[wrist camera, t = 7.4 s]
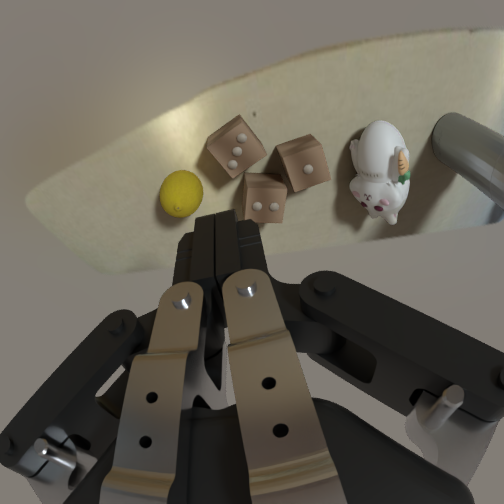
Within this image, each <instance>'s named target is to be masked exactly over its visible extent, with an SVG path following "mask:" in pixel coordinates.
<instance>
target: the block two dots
mask: <svg viewBox="0 0 504 504" xmlns="http://www.w3.org/2000/svg"><path fill="white" fill-rule="evenodd" d="M286 196H287V187H286V185H285V183H284V181H283V179H282V177H281V175H280V174H265V173H244V184H243V196H242V209H243V215H244V220H247V219H252V220H253V221H254V222H255V223H282V221H283V214H284V208H285V202H286Z"/></svg>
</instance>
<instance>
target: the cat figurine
mask: <svg viewBox="0 0 504 504" xmlns="http://www.w3.org/2000/svg"><path fill="white" fill-rule="evenodd" d="M349 148H350V150H351V156H352V161H353V165H354V167H355V170H356V171H357V173H358V174H356V175H358V176H356V177H355V178H354V179H352V181H351V182H350V185H349V187H350V190H351V192H352V193H353V195H354V197H355V198H356V199H357V200H358V201H359V202H360V203H361V205H362V206H363V207H365V208H366V209H367V210H368V212H369V215H370V217H371V218H376V217H378V216H381V217H383V218H384V219H385V220H386V221H387V222H388V223H389V224H391V225H394V224H396V222H397V216H398V211H399V210H400V209H401V208H402V207H403V205H404V203H405V201H406V199H407V196H408V192H409V185H410V181H409V178H410V171H408V169H409V164H408V162H409V151H408V149H406V146H405V142H404V140H403V138H402V136H401V134H400V132H399V131H398V130H397V129H396V128H395V127H394V126H393V125H392V124H390V123H388V122H386V121H382V120H378V121H374V122H372V123H370V124H369V125H368V126H367V127H366V128H365V130H364V131H363V133H362V135H361V138H360V141H359V140H358V139H354V140H353V141H351V145H350V147H349ZM407 171H408V172H407Z"/></svg>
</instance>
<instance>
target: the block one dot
mask: <svg viewBox="0 0 504 504" xmlns="http://www.w3.org/2000/svg"><path fill="white" fill-rule="evenodd" d="M276 148H277V150H278V153H279V156H280V159H281V161H282V164H283V167H284V170H285V173H286V175H287V178H288V180H289V182H290V184H291V186H292V188H293V190H294V192H297V191H300V190H303V189H306V188H308V187H311V186H314V185H317V184H320V183H323V182H325V181H328V180H331V177H330V173H329V169H328V166H327V162H326V158H325V155H324V151H323V148H322V145H321V144H320V143H319V142H318V141H317V140H316V139H315V138H314V137H313V136H312V135H311V134H309V135H306V136H303V137H300V138H297V139H294V140H291V141H288V142H285V143H282V144H279V145H277V146H276Z"/></svg>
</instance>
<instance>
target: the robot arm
mask: <svg viewBox="0 0 504 504" xmlns="http://www.w3.org/2000/svg"><path fill="white" fill-rule="evenodd" d="M432 146H433V151H434V153H435V155H436V157H437V158H438V159H439V160H440V161H441V162H443V163H444V164H446V165H447V166H448V167H450V168H451V169H453V170H454V171H455V172H457V173H458V174H459V175H461V176H462V177H463V178H465V179H466V180H467V181H469V182H470V183H471V184H473V185H474V186H475V187H477V188H478V189H479V190H480V191H482V192H483V193H484V194H485V195H487V196H488V197H489V198H490V199H491V200H493V201H494V202H495V203H496V204H497V205H499V206H500V207H501V208H502V209H503V210H504V136H503V135H501V134H499V133H497V132H495V131H493V130H492V129H490V128H488V127H486V126H484V125H482V124H480V123H478V122H476V121H474V120H472V119H470V118H467V117H465V116H463V115H461V114H458V113H448V114H446V115H444V116H443V117H442V118H441V119H440V120H439V121H438V123H437V124H436V126H435V129H434V132H433V137H432ZM227 327H228V332H229V338H230V344H229V345H228V347H227V345H226V342H225V336H224V335H225V334H224V328H227ZM227 348H228V357H229V364H230V370H231V376H232V382H233V388H234V393H235V399H236V404H234V405H231V406H229V407H228V403H227V400H226V365H227ZM296 352H302V353H307V355H308V356H309V357H310V358H311V359H312V360H314V361H315V362H317V363H319V364H320V365H322V366H323V367H325V368H327V369H328V370H330V371H331V372H333V373H335V374H336V375H337V376H339V377H341V378H342V379H344V380H345V381H347V382H349V383H350V384H352V385H354V386H355V387H357V388H358V389H360V390H362V391H364V392H365V393H367V394H368V395H370V396H372V397H373V398H375V399H377V400H378V401H380V402H382V403H384V404H385V405H387V406H389V407H391V408H392V409H394V410H396V411H397V412H399V413H401V414H403V415H404V416H406V417H407V418H406V422H405V429H406V433H407V436H408V437H409V439H410V440H411V441H412V442H413V443H414V444H416V445H417V446H418V447H419V448H420V449H421V451H422V453H423V456H424V459H423V458H422V457H420V456H418V455H417V454H415V453H414V452H412V451H410V450H409V449H407V448H405V447H404V446H402V445H401V444H399V443H397V442H396V441H394V440H393V439H391V438H390V437H388V436H386V435H385V434H383V433H382V432H380V431H379V430H377V429H376V428H374V427H373V426H371V425H370V424H368V423H367V422H365V421H364V420H362V419H360V418H359V417H358V416H356V415H355V414H354V413H352V412H351V411H349V410H348V409H346V408H344V407H342V406H340V405H338V404H336V403H333V402H331V401H328V400H324V399H320V398H312V397H311V395H310V392H309V389H308V386H307V383H306V380H305V377H304V374H303V371H302V368H301V365H300V362H299V359H298V356H297V353H296ZM120 365H122V366H123V367H124V368H125V371H124V372H123V373H122V374H121V375H120V377H119V378H118V379H117V380H116V381H115V382H114V383H113V384H112V385H111V387H110V388H109V389H108V390H107V391H106V392H105V393H104V394H103V395H102V396H100V397H95V395H96V393H97V391H98V390H99V389H100V388H101V387H102V385H103V384H104V383H105V382H106V381H107V380H108V379H109V378H110V376H111V375H112V374H113V373H114V372H115V371H116V370H117V369H118V368H119V367H120ZM502 417H504V353H503V352H500V351H499V350H496V349H495V348H493V347H491V346H489V345H487V344H485V343H482V342H481V341H479V340H477V339H475V338H473V337H470V336H469V335H467V334H465V333H462V332H461V331H459V330H456V329H454V328H452V327H450V326H448V325H446V324H444V323H442V322H440V321H438V320H436V319H434V318H432V317H430V316H428V315H426V314H424V313H422V312H419V311H417V310H415V309H413V308H411V307H409V306H407V305H405V304H402V303H400V302H398V301H397V300H394V299H392V298H390V297H388V296H386V295H384V294H382V293H380V292H378V291H376V290H373V289H371V288H369V287H367V286H365V285H363V284H361V283H359V282H356V281H354V280H352V279H350V278H348V277H346V276H344V275H341V274H339V273H337V272H333V271H318V272H315V273H312V274H310V275H308V276H307V277H306V278H304V280H303V281H302V282H301V284H287V283H282V282H279V281H277V280H275V279H274V278H273V277H272V276H271V275H270V274H269V272H268V269H267V264H266V260H265V255H264V250H263V245H262V241H261V236H260V232H259V227H258V225H257V224H256V223H255V222H254V221H253V220H252V219H247V220H243V221H238V219H237V215H236V212H235V209H232V210H228V211H223V212H219V213H216V215H215V214H210V215H206V216H202V217H197V218H196V219H195V227H194V232H190V233H185V234H184V236H183V237H182V239H181V240H180V241H179V243H178V249H177V256H176V262H175V269H174V276H173V283H172V287H170V288H169V289H167V290H166V291H165V292H164V293H163V295H162V297H161V298H160V302H159V305H158V308H157V309H155V310H153V311H152V312H149V313H147V314H145V315H142V316H140V317H138V318H137V317H136V315H135V314H134V313H133V312H132V311H130V310H125V309H123V310H118V311H115V312H113V313H111V314H110V315H108V316H107V317H106V318H105V319H104V320H103V321H102V322H101V323H100V324H99V325H98V326H97V327H96V328H95V329H94V330H93V331H92V332H91V333H90V334H89V335H88V336H87V337H86V338H85V339H84V340H83V342H81V343H80V344H79V346H78V347H77V348H76V349H75V350H74V351H73V352H72V353H71V354H70V355H69V356H68V357H67V358H66V359H65V360H64V361H63V363H62V364H61V365H60V366H59V367H58V368H57V369H56V370H55V371H54V372H53V373H52V375H51V376H50V377H49V378H48V379H47V380H46V381H45V382H44V383H43V385H42V386H41V387H40V388H39V389H38V390H37V391H36V392H35V394H34V395H33V396H32V397H31V398H30V399H29V400H28V402H27V403H26V404H25V405H24V406H23V408H22V409H21V410H20V411H19V412H18V413H17V414H16V416H15V417H14V418H13V419H12V420H11V422H10V423H9V424H8V425H7V427H6V428H5V429H4V430H3V431H2V433H1V434H0V463H1V464H2V465H3V466H5V467H7V468H9V469H11V470H13V471H15V472H17V473H19V474H21V475H22V476H24V477H25V478H26V479H27V480H28V482H29V483H30V485H31V487H32V488H33V490H34V492H35V493H36V495H37V496H38V497H39V499H40V501H41V502H42V504H475V503H474V498H473V496H472V494H471V492H470V490H469V488H468V487H467V485H468V484H469V482H470V480H471V478H472V477H473V475H474V473H475V471H476V469H477V467H478V466H479V464H480V462H481V460H482V458H483V456H484V454H485V452H486V449H487V447H488V445H489V443H490V441H491V439H492V436H493V434H494V432H495V429H496V427H497V425H498V422H499V421H500V419H501V418H502Z"/></svg>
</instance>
